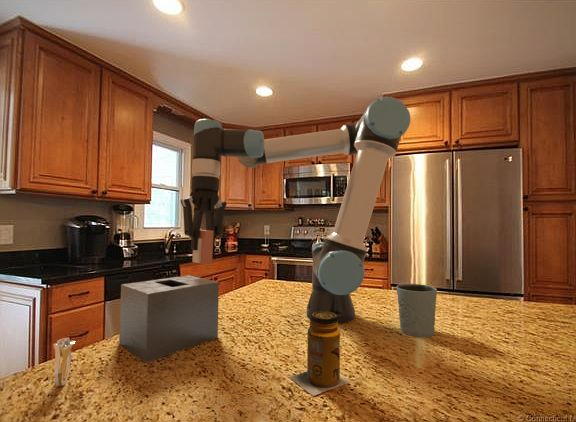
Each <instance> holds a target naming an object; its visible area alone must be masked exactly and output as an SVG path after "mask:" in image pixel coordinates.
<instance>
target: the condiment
mask: <svg viewBox="0 0 576 422" xmlns="http://www.w3.org/2000/svg"><path fill="white" fill-rule="evenodd" d="M340 344H341V331H340V330H339V323H338V316H337V315H336V314H334V313H332V312H324V311H319V312H314V313H312V314H311V316H310V318H309V327H308V328H307V350H306V351H307V358H306V359H307V360H306V361H307V367H306V368H307V369H306V371H303V372H300V373H298V374H293V375H290V376H289V379H291V380H292V381H293V382H294V383H296V384H297V385H298V386H300V387H301V389H303V390H305V391H306V392H307V393H309V394H310V395H311V396H313V397H315V396H317V395H320V394H321V393H325V392H327V391H331V390H334V389H336V388H339V387H342V386H344V385H347V384H349V383H350V381H349V380H348V379H346V378H344V377H342V376H340V374H341V373H340V372H341V370H340V369H341V368H340V367H341V366H340V365H341V359H340V356H341V352H340V351H341V345H340Z"/></svg>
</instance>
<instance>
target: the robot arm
mask: <svg viewBox="0 0 576 422" xmlns="http://www.w3.org/2000/svg"><path fill="white" fill-rule="evenodd" d="M410 124H411V113H410V111H409V109H408V107H407V106H406V105H405V103H404V102H403V101H401V100H400V99H398V98H397V97H396V98H395V97H393V96H392V97H391V96H383V97H379V98H377V99H375V100H374V101H373V102H371V103H370V104H369V105H368V106H367V108H366V109H365V111H364V113H363V114H362V116H361V117H360V119H359V120H357V121H355V122H353V123H349V124H348V123H347V124H343V125H342V127H340V128H336V129H329V130H323V131H316V132H308V133H302V134H293V135H287V136H280V137H279V136H278V137H274V138H266V139H265V136H264V134H265V133H263V131H261V130H257V129H256V130H255V129H252V128H251V129H249V128H247V129H232V128H230V129H229V128H228V129H227V128H223V126H222V124H221V122H220V121H218V120H215V119H210V118H202V119H201V118H200V119H198V120H196V122H195V123H194V126H193V135H192V140H193V141H192V160H191V161H192V163H191V165H192V167H191V174H192V175H193V176H192V177H191V181H190V182H191V183H190V184H191V185H190V189H191V191H190V195H189V196H188V197H186V198H181V199H180V204H181V206H182V211H183V213H182V214H183V232H184V235H185V236H187V237H188V238H189V239H190V240H191V241H190V249H191V251H192V254H193V262H192V263H194V262H196V264H199V263H201V244H202V239H201V238H199V235H200V230H201V228H202V222H203V215H205V226H206V228H205V230H211V231H214V232H213V249H215V248H214V247H215V239H216V238H217V237H218V236H221V234H222V228H223V221H224V214H225V208H226V207H227V202H226V201H222V200H220V197H219V191H220V178H219V177H220V176H221V157H232V158H237V159H238V162H239V163H240V164H241V165H243V166H244V167H246V168H248V169H253V168H256V167H258V166H259V165H264V164H269V163H270V164H271V163H278V162H286V161H290V160H293V161H294V160H301V159H305V158H306V159H307V158H314V157H321V156H322V157H323V156H328V155H335V154H336V155H337V154H344V155H345V156H351V155H355V159H354V162H353V165H352V168H351V171H350V175H349V178H348V181H347V185H346V189H345V190H344V195H343V199H342V201H341V205H340V208H339V212H338V215H337V218H336V221H335V224H334V228H333V231H332V233H330V234H329V235H327V236H325V238H324V241H323V242H322V241H321V242H315V243H313V245H312V251H311V254H312V266H311V267H312V274H311V275H312V277H311V279H312V281H311V282H312V283H311V285H312V286H311V288H312V289H311V293H310V296H309V299H308V303H307V306H306V317H307V318H309V319H310V316H311V314H312V313H314V312H319V311H324V312H332V313H334V314H336V315H337V316H338V324H343V323H349V322H352V321H354V320H355V318H356V310H355V309H356V308H355V307H354V302H353V299H352V297H351V294H352V293H354V292H355V291H356V290H357V289H358V288H360V286H361V285H362V283H363V281H364V277H365V266H364V261H365V259H366V254H367V251H368V249H367V247H366V245H365V243H364V240H365V237H366V234H367V231H368V228H369V224H370V221H371V217H372V215H373V210H374V208H375V206H376V201H377V198H378V196H379V195H378V194H379V192H380V188H381V185H382V181H383V177H384V176H385V175H384V174H385V171H386V168H387V164H388V161H389V160H390V159H391V158H393V157H395V156H396V155H397V154H396V153H397V152H398V151H397V150H398V147H399V144H400V141H401V138H402V137H403V136H404V135H405V133H406V132H407V131H408V129H409V127H410ZM192 204H193V206H194V207H192ZM215 207H216V208H215Z"/></svg>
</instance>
